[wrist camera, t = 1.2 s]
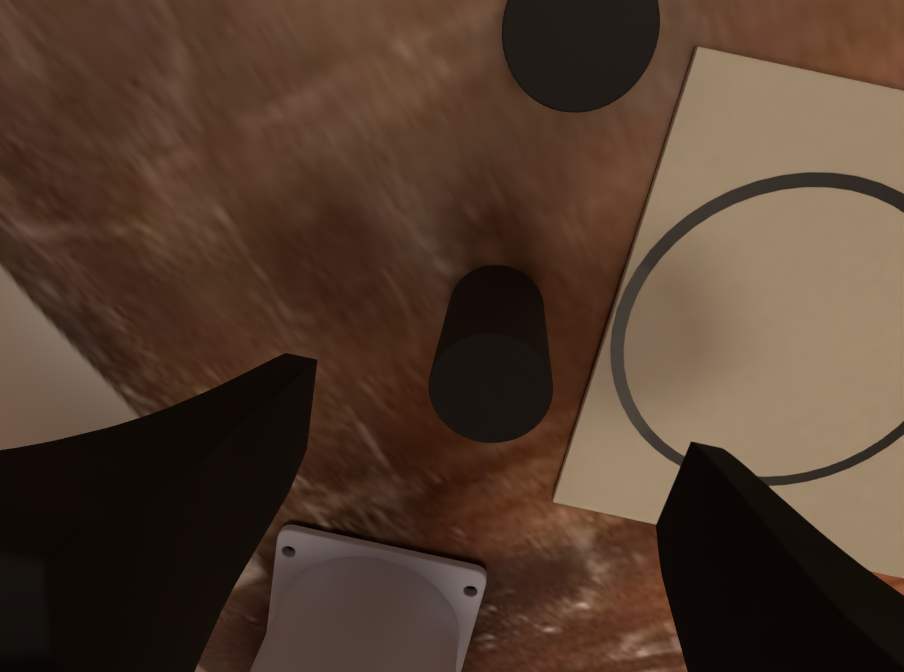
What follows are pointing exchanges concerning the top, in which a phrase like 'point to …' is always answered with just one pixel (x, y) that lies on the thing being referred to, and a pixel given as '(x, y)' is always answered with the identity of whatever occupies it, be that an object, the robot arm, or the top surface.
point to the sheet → (762, 308)
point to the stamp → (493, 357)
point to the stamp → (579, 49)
